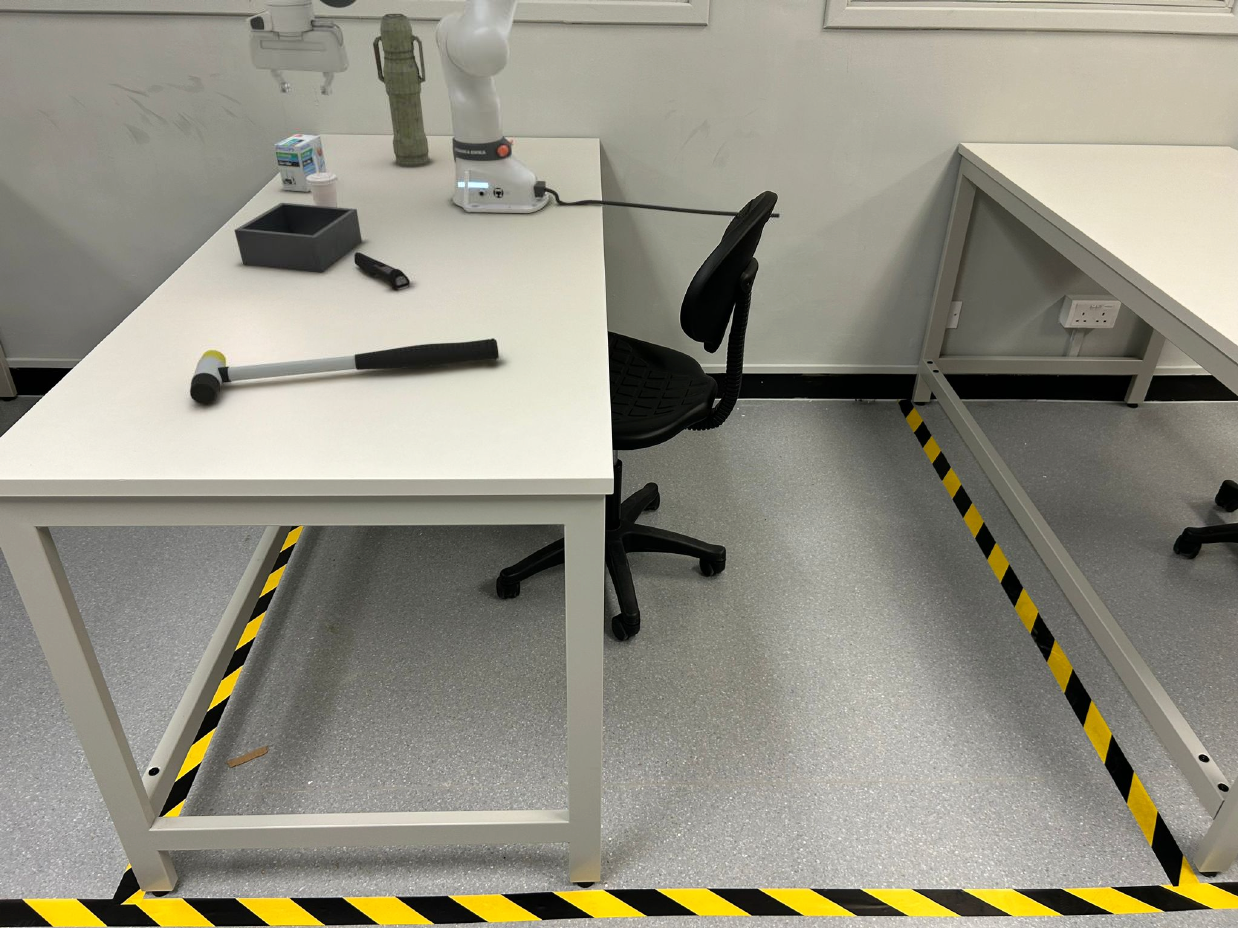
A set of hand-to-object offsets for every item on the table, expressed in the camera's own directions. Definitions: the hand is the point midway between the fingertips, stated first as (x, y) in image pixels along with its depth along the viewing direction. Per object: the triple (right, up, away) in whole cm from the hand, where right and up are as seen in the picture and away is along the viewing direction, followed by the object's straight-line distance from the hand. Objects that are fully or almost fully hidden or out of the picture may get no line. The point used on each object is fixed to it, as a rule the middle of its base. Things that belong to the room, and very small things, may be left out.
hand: (306, 93), depth 179 cm
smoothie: (+1, -24, +11) cm, 26 cm away
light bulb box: (-11, -9, +32) cm, 35 cm away
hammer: (+24, -64, -46) cm, 82 cm away
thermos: (+11, +3, +49) cm, 50 cm away
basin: (+2, -35, -5) cm, 35 cm away
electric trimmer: (+20, -42, -15) cm, 49 cm away
